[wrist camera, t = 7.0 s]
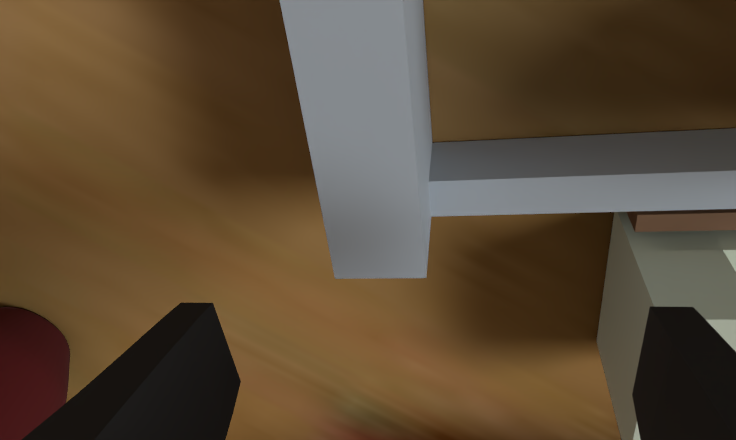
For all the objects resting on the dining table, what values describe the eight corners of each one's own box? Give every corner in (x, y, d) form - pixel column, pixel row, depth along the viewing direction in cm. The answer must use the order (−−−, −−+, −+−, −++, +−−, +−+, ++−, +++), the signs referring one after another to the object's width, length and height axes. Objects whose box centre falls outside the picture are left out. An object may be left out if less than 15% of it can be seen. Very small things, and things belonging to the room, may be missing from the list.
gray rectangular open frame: (1017, 153, 16) (1213, 273, 12) (362, 178, 20) (335, 278, 15) (1251, -261, 11) (1730, -307, 7) (317, -132, 14) (257, -111, 10)
